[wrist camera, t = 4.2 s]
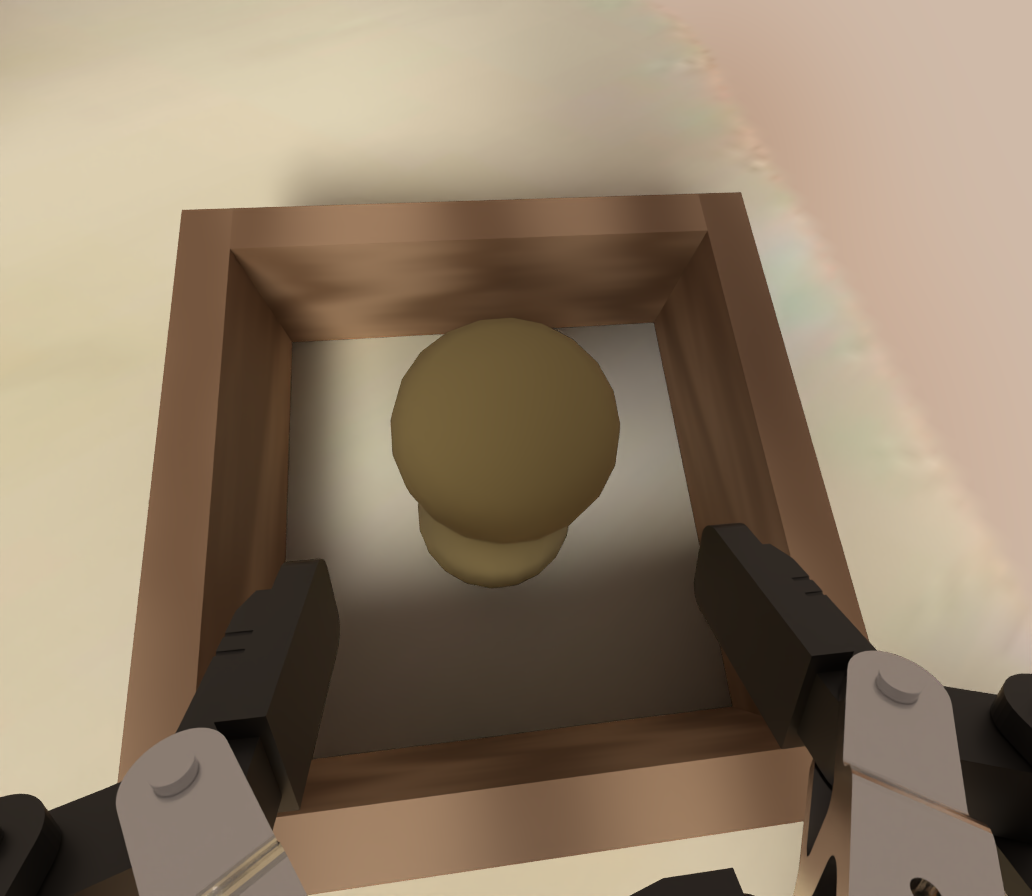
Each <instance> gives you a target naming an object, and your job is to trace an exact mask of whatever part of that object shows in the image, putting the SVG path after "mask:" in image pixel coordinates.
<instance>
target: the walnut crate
mask: <svg viewBox="0 0 1032 896" xmlns="http://www.w3.org/2000/svg"><path fill="white" fill-rule="evenodd" d="M501 318H517V319H521V320H526V321H531V322H536V323H541V324H544V325H546V326H548V327H550V328H561V327H579V326H598V325H616V324H634V323H653V322H654V325H655V330H656V335H657V340H658V344H659V349H660V354H661V359H662V364H663V369H664V374H665V379H666V384H667V388H668V393H669V398H670V403H671V408H672V413H673V418H674V423H675V428H676V432H677V437H678V442H679V447H680V452H681V457H682V462H683V467H684V472H685V476H686V481H687V486H688V491H689V496H690V501H691V506H692V511H693V516H694V520H695V525H696V530H697V535H698V540H699V545H700V543H701V537H702V532H703V529H704V528H705V527H706V526H708V525H718V524H729V523H743V524H745V525H746V526H747V527H748V528H749V529H750V530H751V531H752V533H753V534H754V535H755V536H756V537H757V538H758V540H759V541H760V542H761V543H762V544H771V545H773V546H774V547H776V548H778V549H779V550H781V551H782V552H784V553H786V554H787V555H789V556H790V557H792V558H793V559H794V560H795V561H796V562H797V563H798V564H799V565H800V566H801V568H802V569H803V570H804V571H805V572H806V573H807V574H808V575H809V579H810V580H813V581H814V582H815V583H816V584H817V585H818V586H819V587H820V588H821V590H822V591H823V595H827V596H828V597H829V598H830V599H831V601H832V602H833V603H834V604H835V605H836V606H837V607H838V608H839V609H840V610H841V612H842V613H843V614H844V615H845V616H846V617H847V618H848V619H849V620H850V621H851V623H852V624H853V625H854V626H855V627H856V628H857V629H858V630H859V631H860V632H861V634H862V635H863V636H864V637H865V638H866V639H867V640H868V641H869V639H868V636H867V632H866V629H865V625H864V622H863V618H862V615H861V611H860V608H859V604H858V601H857V597H856V594H855V590H854V587H853V583H852V580H851V576H850V573H849V569H848V566H847V562H846V559H845V555H844V552H843V548H842V545H841V541H840V538H839V534H838V531H837V527H836V524H835V520H834V517H833V513H832V510H831V506H830V503H829V499H828V496H827V492H826V489H825V485H824V482H823V478H822V475H821V471H820V468H819V464H818V461H817V457H816V454H815V450H814V447H813V443H812V440H811V436H810V433H809V429H808V426H807V422H806V419H805V415H804V412H803V408H802V405H801V401H800V398H799V394H798V391H797V387H796V384H795V380H794V377H793V373H792V370H791V366H790V363H789V359H788V356H787V352H786V349H785V345H784V342H783V338H782V335H781V331H780V328H779V324H778V321H777V317H776V314H775V310H774V307H773V303H772V300H771V296H770V293H769V289H768V286H767V282H766V279H765V275H764V272H763V268H762V265H761V261H760V258H759V254H758V251H757V247H756V244H755V240H754V237H753V233H752V230H751V226H750V223H749V219H748V216H747V212H746V209H745V205H744V202H743V198H742V195H741V192H737V193H706V194H674V195H642V196H610V197H579V198H547V199H515V200H484V201H452V202H420V203H388V204H357V205H325V206H293V207H262V208H230V209H198V210H182V214H181V223H180V232H179V241H178V250H177V259H176V268H175V276H174V285H173V294H172V303H171V312H170V321H169V330H168V339H167V348H166V356H165V365H164V374H163V383H162V392H161V401H160V410H159V419H158V428H157V437H156V445H155V454H154V463H153V472H152V481H151V490H150V499H149V508H148V517H147V525H146V534H145V543H144V552H143V561H142V570H141V579H140V588H139V597H138V605H137V614H136V623H135V632H134V641H133V650H132V659H131V668H130V677H129V686H128V694H127V703H126V712H125V721H124V730H123V739H122V748H121V757H120V766H119V774H118V783H119V782H121V781H122V780H123V778H124V776H125V775H126V773H127V772H128V770H129V769H130V768H131V767H132V765H133V764H134V763H135V762H136V761H137V760H138V759H139V758H140V757H141V756H142V755H143V754H144V753H145V752H146V751H147V750H149V749H150V748H151V747H153V746H154V745H155V744H157V743H158V742H160V741H162V740H163V739H165V738H167V737H169V736H171V735H173V734H175V733H176V731H177V729H178V727H179V725H180V723H181V721H182V719H183V717H184V715H185V713H186V711H187V709H188V707H189V705H190V703H191V701H192V699H193V697H194V695H195V693H196V691H197V689H198V687H199V685H200V683H201V681H202V678H203V676H204V674H205V672H206V670H207V668H208V666H209V664H210V662H211V660H212V658H213V656H216V650H217V648H218V646H219V644H220V642H221V640H222V638H223V637H225V632H226V630H227V628H228V626H229V624H230V621H231V619H232V617H233V615H234V613H235V611H236V610H237V609H238V608H239V607H240V606H241V605H242V604H243V603H244V602H245V601H246V600H247V599H248V598H249V597H250V596H251V595H252V594H253V593H254V592H255V591H256V590H267V589H271V588H272V586H273V584H274V581H275V579H276V577H277V574H278V572H279V570H280V567H281V565H282V564H283V563H284V562H285V557H286V525H287V493H288V462H289V430H290V399H291V367H292V342H305V341H323V340H341V339H360V338H378V337H396V336H415V335H433V334H445V333H447V332H449V331H452V330H454V329H457V328H460V327H462V326H465V325H468V324H471V323H473V322H476V321H479V320H487V319H501ZM720 648H721V652H722V657H723V662H724V667H725V672H726V677H727V682H728V687H729V692H730V696H731V701H732V706H731V707H723V708H715V709H707V710H700V711H692V712H684V713H676V714H668V715H660V716H652V717H644V718H636V719H628V720H620V721H612V722H604V723H596V724H588V725H581V726H573V727H565V728H557V729H549V730H541V731H533V732H525V733H517V734H509V735H501V736H493V737H485V738H477V739H469V740H461V741H454V742H446V743H438V744H430V745H422V746H414V747H406V748H398V749H390V750H382V751H374V752H366V753H358V754H350V755H343V756H335V757H327V758H319V759H312V760H311V764H310V769H309V773H308V777H307V781H306V786H305V790H304V794H303V798H302V803H301V807H300V810H296V811H288V812H280V813H277V817H276V820H275V824H274V828H273V833H274V835H275V837H276V839H277V841H278V842H280V843H281V845H282V847H283V849H284V851H285V852H286V854H287V856H288V858H289V860H290V862H291V864H292V866H293V868H294V870H295V872H296V874H297V876H298V878H299V880H300V882H301V884H302V886H303V888H304V890H305V892H306V894H307V895H312V894H318V893H325V892H332V891H339V890H345V889H352V888H359V887H365V886H372V885H379V884H386V883H392V882H399V881H406V880H412V879H419V878H426V877H432V876H439V875H446V874H453V873H459V872H466V871H473V870H479V869H486V868H493V867H500V866H506V865H513V864H520V863H526V862H533V861H540V860H546V859H553V858H560V857H567V856H573V855H580V854H587V853H593V852H600V851H607V850H614V849H620V848H627V847H634V846H640V845H647V844H654V843H660V842H667V841H674V840H681V839H687V838H694V837H701V836H707V835H714V834H721V833H728V832H734V831H741V830H748V829H754V828H761V827H768V826H774V825H781V824H788V823H795V822H801V821H804V816H805V806H806V797H807V787H808V778H809V770H810V765H811V763H812V760H813V758H812V756H811V754H810V753H809V751H808V750H807V748H806V746H804V747H796V748H788V749H781V748H780V746H779V744H778V743H777V741H776V739H775V737H774V736H773V734H772V732H771V731H770V729H769V727H768V725H767V724H766V722H765V720H764V719H763V717H762V715H761V713H760V712H759V710H758V708H757V707H756V705H755V703H754V702H753V700H752V698H751V696H750V695H749V693H748V691H747V690H746V688H745V686H744V684H743V683H742V681H741V679H740V678H739V676H738V674H737V672H736V671H735V669H734V667H733V666H732V664H731V662H730V660H729V659H728V657H727V655H726V654H725V652H724V650H723V648H722V647H721V645H720Z"/></svg>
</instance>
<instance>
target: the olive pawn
mask: <svg viewBox="0 0 1032 896" xmlns="http://www.w3.org/2000/svg"><path fill="white" fill-rule="evenodd" d="M619 432H620V421H619V416H618V411H617V406H616V401H615V396H614V391H613V389H612V388H611V386H610V384H609V382H608V381H607V379H606V377H605V375H604V373H603V372H602V370H601V368H600V366H599V364H598V363H597V362H596V361H595V360H594V359H593V358H592V357H591V356H590V355H589V354H588V353H587V352H586V351H585V350H584V349H583V348H582V347H580V346H579V345H578V344H577V343H576V342H575V341H574V340H573V339H571V338H569V337H567V336H565V335H563V334H561V333H559V332H558V331H556V330H554V329H552V328H550V327H548V326H546V325H544V324H541V323H536V322H531V321H526V320H521V319H517V318H501V319H487V320H479V321H476V322H473V323H471V324H468V325H465V326H462V327H460V328H457V329H454V330H452V331H449V332H447V333H445V334H444V335H443V336H441V337H440V338H439V339H438V340H436V341H435V342H434V343H432V344H431V345H430V346H428V347H427V348H426V349H424V350H423V351H422V352H421V353H420V354H419V356H418V357H417V358H416V360H415V361H414V363H413V364H412V366H411V367H410V369H409V370H408V371H407V373H406V374H405V376H404V377H403V379H402V381H401V384H400V388H399V391H398V395H397V398H396V402H395V405H394V409H393V413H392V417H391V435H392V452H393V457H394V459H395V461H396V464H397V466H398V469H399V471H400V473H401V476H402V478H403V480H404V483H405V485H406V488H407V489H408V491H409V492H410V494H411V495H412V496H413V497H414V498H415V499H416V501H417V502H418V512H419V526H420V532H421V534H422V537H423V539H424V541H425V544H426V546H427V549H428V551H429V553H430V554H431V555H432V556H433V558H434V559H435V560H436V561H437V562H438V563H439V564H440V566H441V567H442V568H443V569H444V570H445V571H446V572H448V573H450V574H451V575H453V576H455V577H457V578H458V579H460V580H462V581H463V582H465V583H467V584H472V585H477V586H482V587H487V588H498V587H506V586H514V585H518V584H520V583H522V582H524V581H526V580H528V579H530V578H532V577H534V576H536V575H538V574H539V573H540V572H541V571H542V570H543V569H544V568H545V567H546V566H547V565H548V564H550V563H551V562H552V561H553V560H554V559H555V558H556V556H557V554H558V552H559V550H560V548H561V546H562V544H563V542H564V540H565V538H566V536H567V531H568V526H569V525H570V524H571V523H572V522H573V521H574V520H575V519H576V518H577V517H578V516H579V515H580V514H581V513H582V512H584V511H585V510H586V509H587V508H588V507H589V506H590V505H591V504H592V503H593V502H594V501H595V500H596V499H597V498H598V497H599V496H600V494H601V492H602V490H603V488H604V486H605V484H606V482H607V480H608V478H609V476H610V474H611V472H612V470H613V468H614V466H615V462H616V455H617V447H618V440H619Z"/></svg>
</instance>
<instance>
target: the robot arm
mask: <svg viewBox="0 0 1032 896" xmlns="http://www.w3.org/2000/svg"><path fill="white" fill-rule="evenodd" d="M694 591H695V597H696V601H697V604H698V606H699V609H700V611H701V613H702V614H703V616H704V618H705V619H706V621H707V623H708V624H709V626H710V628H711V630H712V631H713V633H714V635H715V636H716V638H717V640H718V642H719V643H720V645H721V647H722V648H723V650H724V652H725V654H726V655H727V657H728V659H729V660H730V662H731V664H732V666H733V667H734V669H735V671H736V672H737V674H738V676H739V678H740V679H741V681H742V683H743V684H744V686H745V688H746V690H747V691H748V693H749V695H750V696H751V698H752V700H753V702H754V703H755V705H756V707H757V708H758V710H759V712H760V713H761V715H762V717H763V719H764V720H765V722H766V724H767V725H768V727H769V729H770V731H771V732H772V734H773V736H774V737H775V739H776V741H777V743H778V744H779V746H780V748H781V749H788V748H796V747H804V746H806V748H807V750H808V751H809V753H810V754H811V756H812V758H813V760H812V763H811V765H810V770H809V778H808V787H807V797H806V806H805V816H804V826H803V835H802V845H801V854H800V863H799V870H798V876H797V881H796V885H795V889H794V893H793V896H1005V893H1004V891H1005V892H1006V893H1007V895H1008V896H1032V674H1016V675H1013V676H1011V677H1009V678H1008V679H1007V680H1006V681H1005V683H1004V684H1003V686H1002V688H1001V690H1000V691H999V693H998V695H995V694H988V693H982V692H976V691H970V690H963V689H957V688H951V687H945V686H942V684H941V683H940V682H939V681H938V680H937V679H936V678H935V677H934V676H933V675H931V674H930V673H929V672H928V671H926V670H925V669H923V668H922V667H921V666H919V665H917V664H915V663H914V662H912V661H910V660H908V659H906V658H903V657H901V656H898V655H895V654H892V653H888V652H882V651H877V650H876V649H875V648H874V647H873V646H872V645H871V643H870V642H869V641H868V640H867V639H866V638H865V637H864V636H863V635H862V634H861V632H860V631H859V630H858V629H857V628H856V627H855V626H854V625H853V624H852V623H851V621H850V620H849V619H848V618H847V617H846V616H845V615H844V614H843V613H842V612H841V610H840V609H839V608H838V607H837V606H836V605H835V604H834V603H833V602H832V601H831V599H830V598H829V597H828V596H827V595H823V591H822V590H821V588H820V587H819V586H818V585H817V584H816V583H815V582H814V581H813V580H810V579H809V575H808V574H807V573H806V572H805V571H804V570H803V569H802V568H801V566H800V565H799V564H798V563H797V562H796V561H795V560H794V559H793V558H792V557H790V556H789V555H787V554H786V553H784V552H782V551H781V550H779V549H778V548H776V547H774V546H773V545H771V544H762V543H761V542H760V541H759V540H758V538H757V537H756V536H755V535H754V534H753V533H752V531H751V530H750V529H749V528H748V527H747V526H746V525H745V524H743V523H729V524H718V525H708V526H706V527H705V528H704V529H703V532H702V537H701V543H700V549H699V555H698V561H697V567H696V573H695V579H694ZM339 635H340V624H339V615H338V611H337V606H336V602H335V598H334V594H333V589H332V585H331V581H330V577H329V572H328V568H327V565H326V562H325V560H324V559H313V560H302V561H291V562H284V563H283V564H282V565H281V567H280V570H279V572H278V574H277V577H276V579H275V581H274V584H273V586H272V588H271V589H267V590H256V591H255V592H254V593H253V594H252V595H251V596H250V597H249V598H248V599H247V600H246V601H245V602H244V603H243V604H242V605H241V606H240V607H239V608H238V609H237V610H236V611H235V613H234V615H233V617H232V619H231V621H230V624H229V626H228V628H227V630H226V632H225V637H223V638H222V640H221V642H220V644H219V646H218V648H217V650H216V656H213V658H212V660H211V662H210V664H209V666H208V668H207V670H206V672H205V674H204V676H203V678H202V681H201V683H200V685H199V687H198V689H197V691H196V693H195V695H194V697H193V699H192V701H191V703H190V705H189V707H188V709H187V711H186V713H185V715H184V717H183V719H182V721H181V723H180V725H179V727H178V729H177V731H176V733H175V734H173V735H171V736H169V737H167V738H165V739H163V740H162V741H160V742H158V743H157V744H155V745H154V746H153V747H151V748H150V749H149V750H147V751H146V752H145V753H144V754H143V755H142V756H141V757H140V758H139V759H138V760H137V761H136V762H135V763H134V764H133V765H132V767H131V768H130V769H129V770H128V772H127V773H126V775H125V776H124V778H123V780H122V781H121V782H119V783H117V784H115V785H112V786H110V787H108V788H105V789H103V790H100V791H98V792H95V793H93V794H90V795H88V796H85V797H83V798H80V799H77V800H75V801H72V802H70V803H67V804H65V805H62V806H60V807H57V808H55V809H52V810H50V811H48V810H47V809H46V807H45V806H44V805H43V803H42V802H41V801H40V800H39V799H38V798H36V797H35V796H32V795H29V794H13V795H8V796H4V797H0V896H307V894H306V892H305V890H304V888H303V886H302V884H301V882H300V880H299V878H298V876H297V874H296V872H295V870H294V868H293V866H292V864H291V862H290V860H289V858H288V856H287V854H286V852H285V851H284V849H283V847H282V845H281V843H280V842H278V841H277V839H276V837H275V835H274V833H273V828H274V824H275V820H276V817H277V813H280V812H288V811H296V810H300V807H301V803H302V798H303V794H304V790H305V786H306V781H307V777H308V773H309V769H310V764H311V760H312V756H313V752H314V747H315V743H316V739H317V735H318V730H319V726H320V722H321V718H322V713H323V709H324V705H325V700H326V696H327V692H328V688H329V683H330V679H331V675H332V671H333V666H334V662H335V658H336V654H337V649H338V645H339ZM630 896H754V895H751V894H745V893H743V891H742V889H741V886H740V884H739V881H738V879H737V877H736V874H735V872H734V869H733V868H728V869H722V870H715V871H708V872H702V873H695V874H688V875H682V876H675V877H668V878H663V879H661V880H659V881H657V882H655V883H653V884H651V885H649V886H648V887H646V888H644V889H642V890H640V891H638V892H636V893H634V894H632V895H630Z"/></svg>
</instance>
